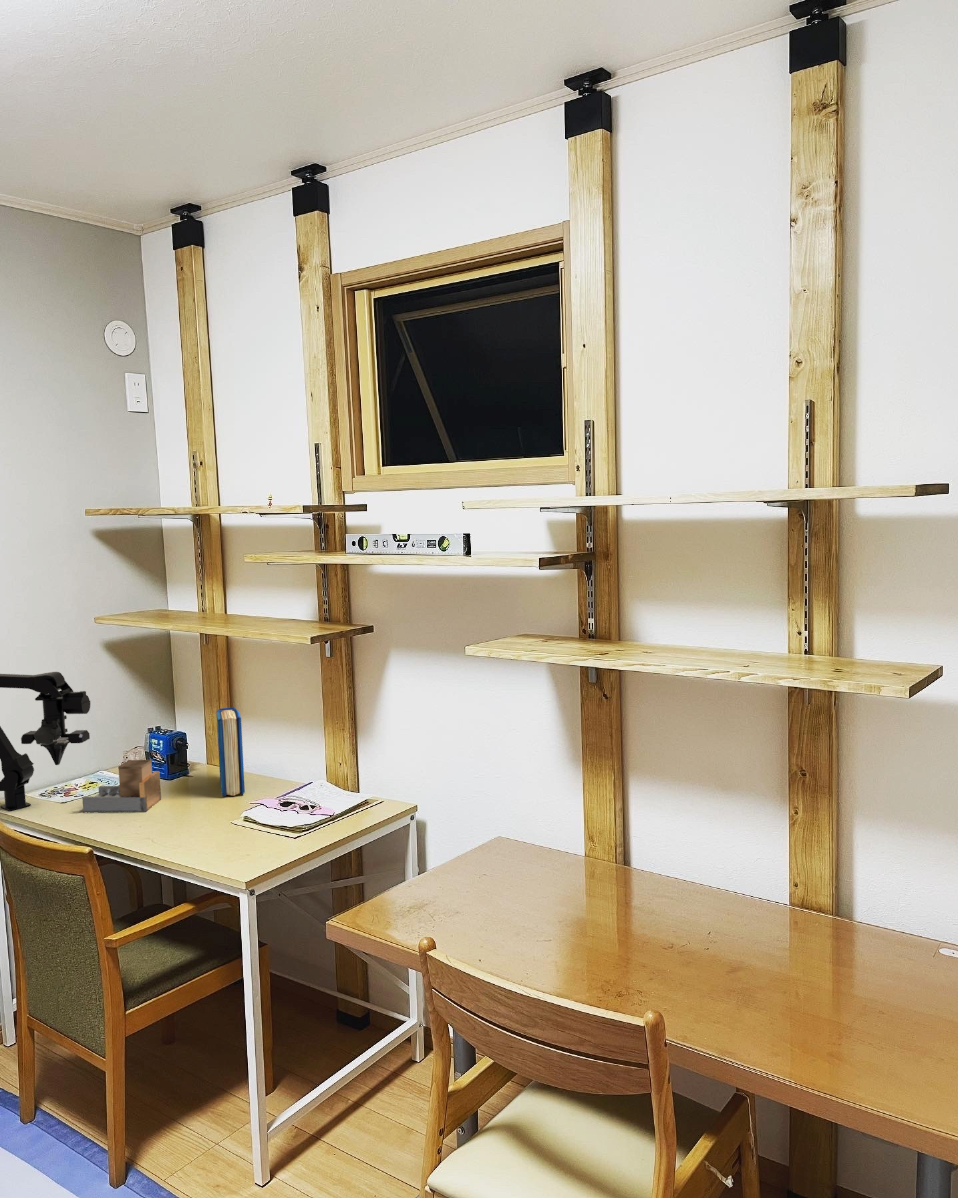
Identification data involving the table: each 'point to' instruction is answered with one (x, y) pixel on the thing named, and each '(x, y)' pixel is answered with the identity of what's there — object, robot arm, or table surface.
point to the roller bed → (125, 797)
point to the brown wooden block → (133, 776)
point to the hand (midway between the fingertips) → (57, 764)
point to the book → (230, 751)
